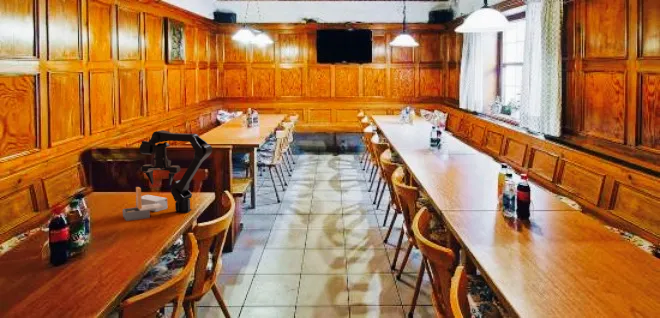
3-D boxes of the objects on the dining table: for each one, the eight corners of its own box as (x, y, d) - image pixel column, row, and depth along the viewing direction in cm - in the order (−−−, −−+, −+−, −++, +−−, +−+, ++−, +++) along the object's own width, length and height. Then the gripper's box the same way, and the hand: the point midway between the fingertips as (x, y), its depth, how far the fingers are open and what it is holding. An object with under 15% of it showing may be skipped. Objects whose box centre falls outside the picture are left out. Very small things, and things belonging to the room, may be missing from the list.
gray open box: (146, 213, 250) (146, 206, 250) (149, 217, 244) (149, 209, 243) (123, 216, 244) (122, 209, 244) (126, 220, 238) (125, 212, 237)
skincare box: (135, 207, 261) (155, 212, 254) (135, 196, 260) (154, 201, 252) (149, 204, 268) (168, 209, 261) (148, 193, 267) (167, 198, 260)
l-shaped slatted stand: (159, 204, 253) (158, 184, 251) (163, 208, 246) (162, 187, 244) (136, 207, 247) (135, 186, 245) (139, 210, 240) (138, 189, 239)
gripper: (183, 153, 261) (184, 182, 264) (149, 152, 263) (150, 180, 265) (176, 156, 250) (176, 187, 253) (139, 155, 252) (141, 185, 254)
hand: (161, 184), depth 257 cm, fingers open, 9 cm apart
